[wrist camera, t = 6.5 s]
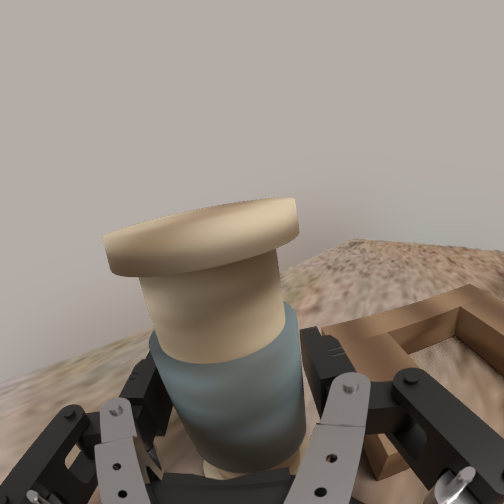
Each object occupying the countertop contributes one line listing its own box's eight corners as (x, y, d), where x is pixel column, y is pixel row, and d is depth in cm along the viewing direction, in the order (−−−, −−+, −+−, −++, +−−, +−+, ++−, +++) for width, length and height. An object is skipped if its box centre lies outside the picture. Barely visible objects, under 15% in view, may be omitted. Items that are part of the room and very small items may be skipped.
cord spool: (204, 510, 9) (62, 252, 6) (211, 433, 15) (142, 220, 12) (324, 498, 9) (319, 203, 6) (305, 422, 15) (279, 195, 12)
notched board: (377, 481, 9) (388, 455, 8) (322, 356, 22) (321, 327, 21) (547, 367, 9) (559, 336, 8) (466, 309, 22) (469, 283, 21)
